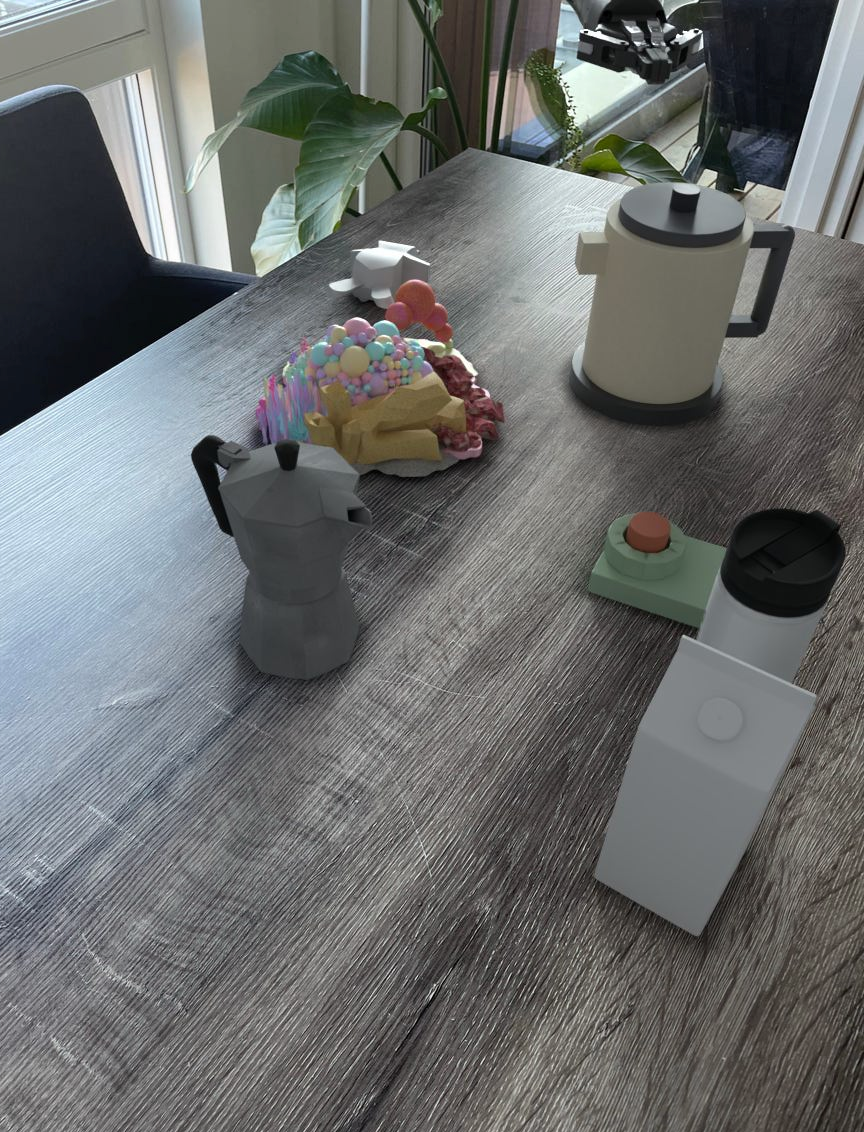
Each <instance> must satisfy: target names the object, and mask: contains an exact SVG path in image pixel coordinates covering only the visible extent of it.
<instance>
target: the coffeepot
mask: <svg viewBox="0 0 864 1132" xmlns="http://www.w3.org/2000/svg"><path fill="white" fill-rule="evenodd" d="M190 458H191V463H192V464H193V467H194V469H195V472H196V474H197V476H198V479H199V482H200V483H201V486H202V488H203V491H204V494H205V496H206V499H207V501H208V504H209V506H210V508H211V511H212V513H213V515H214V517H215V520H216V522H217V525H218V528H219V529H220V531H221V532H223V533H224V534H225V535H227V536H230V537H232V538H234V541H235V544H236V548H237V550H238V554H239V557H240V560H241V562H242V563H243V565H244V566H245V567H246V569H247V570H248V574H247V577H246V580H245V584H244V592H243V602H242V612H241V621H240V631H239V639H238V642H239V644H240V646H241V647H242V649H243V650H244V651H245V653H246V655H247V656H248V659H250V660H251V661H252V662H253V664H254V665H255V666H256V668H257V669H258V670H259V672H260V673H263V674H266V675H272V676H276V677H280V678H287V679H294V680H304V681H308V680H312V679H314V678H317V677H320V676H323V675H325V674H328V673H329V672H331V671H333V670H335V669H337V668H339V667H340V666H343V665H344V664H346V663H349V661H350V660H351V659H350V658H351V656H352V653H353V651H354V649H355V645H356V641H357V640H358V635H359V633H360V630H361V628H360V624H359V620H358V615H357V612H356V608H355V607H356V606H355V604H354V600H353V595H352V591H351V587H350V584H349V579H348V576H347V575H348V574H347V572H346V571H345V569H344V568H343V566H342V565H343V563H344V561H345V558H346V555H347V552H348V548H349V543H350V542H351V541H352V540H353V538H354V537H355V536H356V535H357V534H358V533H359V532H360V531H361V530H369V529H370V528H371V527H372V525H373V513H372V511H371V510H370V509H369V508H368V507H367V505H366V504H365V503H364V502H363V501H362V500H361V499H360V498H359V497H358V496H357V495H358V488H359V483H360V477H361V475H359V474H358V473H357V472H356V471H355V470H354V469H353V468H352V467H351V466H350V465H349V464H348V463H347V462H346V461H345V460H344V459H343V458H342V457H341V456H340V455H339V453H338V452H337V451H336V450H335V449H334V448H332V447H325V446H318V445H311V444H304V443H298V442H296V441H295V440H289V439H284V440H282V441H279V442H276V443H273V444H272V443H271V444H268V445H267V446H266V445H264V446H262V447H259V448H256V449H252V450H250V451H249V449H248V447H246V446H243V445H242V444H239V443H237V442H235V441H233V440H229V442H227V441H226V440H223V439H222V438H221V437H219V436H217V435H214V434H207V435H206V436H205V437H203V438H202V439H201V440H200V441H199V442H198V443H197V444H196V445H194V447H193V448H192V451H191V454H190ZM217 465H218V466H219V467H220V468H222V469H223V470H225V471H226V473H225V475H224V477H222V480H221V479H220V473H219V469H218V467H217Z"/></svg>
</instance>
